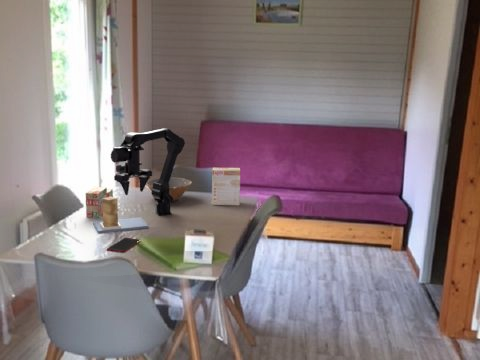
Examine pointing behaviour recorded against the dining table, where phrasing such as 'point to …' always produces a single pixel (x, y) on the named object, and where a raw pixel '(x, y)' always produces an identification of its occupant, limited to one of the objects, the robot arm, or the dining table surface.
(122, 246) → the cell phone
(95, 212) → the stack of blocks
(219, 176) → the coffeecake box
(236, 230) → the dining table surface
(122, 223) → the board
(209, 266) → the dining table surface
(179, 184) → the bowl
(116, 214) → the pillar block
